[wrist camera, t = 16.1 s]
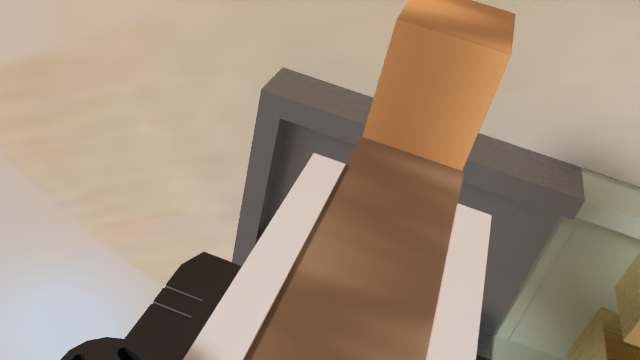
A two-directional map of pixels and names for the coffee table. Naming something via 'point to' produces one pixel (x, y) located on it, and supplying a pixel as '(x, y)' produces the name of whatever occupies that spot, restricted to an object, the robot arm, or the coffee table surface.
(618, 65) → the coffee table surface
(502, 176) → the dark grey shallow tray
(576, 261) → the tray
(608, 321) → the tan cube
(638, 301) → the light brown cube
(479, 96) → the bent wooden stick
